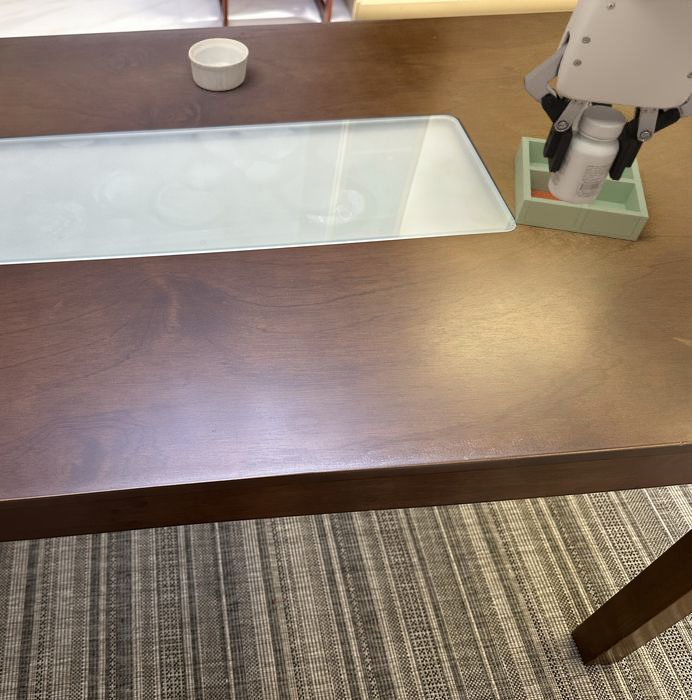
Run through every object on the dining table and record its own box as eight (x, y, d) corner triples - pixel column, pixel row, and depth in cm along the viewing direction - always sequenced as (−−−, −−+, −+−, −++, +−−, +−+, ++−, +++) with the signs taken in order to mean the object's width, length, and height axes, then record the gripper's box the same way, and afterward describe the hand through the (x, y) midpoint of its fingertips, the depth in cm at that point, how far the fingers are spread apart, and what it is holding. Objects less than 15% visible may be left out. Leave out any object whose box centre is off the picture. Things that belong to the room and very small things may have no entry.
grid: (623, 174, 93) (635, 150, 90) (635, 241, 84) (649, 217, 81) (514, 159, 95) (522, 136, 92) (515, 223, 86) (524, 199, 84)
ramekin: (182, 90, 107) (181, 62, 104) (198, 61, 113) (197, 34, 110) (240, 97, 106) (241, 69, 103) (253, 68, 111) (254, 40, 108)
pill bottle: (604, 190, 66) (640, 114, 61) (584, 212, 64) (619, 135, 59) (559, 171, 68) (590, 96, 63) (538, 192, 66) (568, 116, 60)
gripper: (793, -63, 52) (675, 156, 66) (548, -81, 54) (484, 133, 68) (825, -20, 47) (690, 206, 61) (555, -42, 50) (484, 179, 63)
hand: (582, 165), depth 64 cm, fingers closed on pill bottle, 4 cm apart
